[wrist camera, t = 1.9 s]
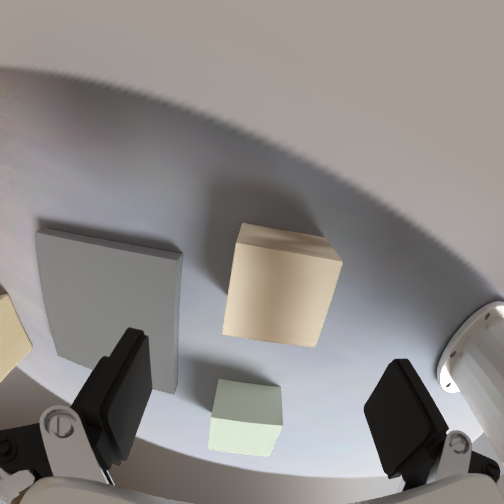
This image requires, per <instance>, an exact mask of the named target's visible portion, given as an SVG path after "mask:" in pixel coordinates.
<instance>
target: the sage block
mask: <svg viewBox="0 0 504 504" xmlns="http://www.w3.org/2000/svg"><path fill="white" fill-rule="evenodd" d="M282 427H283V418H282V399H281V387H277V386H267V385H259V384H251V383H243V382H236V381H230V380H223V379H218V384H217V389H216V394H215V400H214V405H213V410H212V415H211V423H210V433H209V443H208V449H209V450H216V451H222V452H229V453H237V454H246V455H256V456H269V455H270V453H271V451H272V449H273V446H274V444H275V442H276V440H277V438H278V436H279V433H280V431H281V429H282Z"/></svg>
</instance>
